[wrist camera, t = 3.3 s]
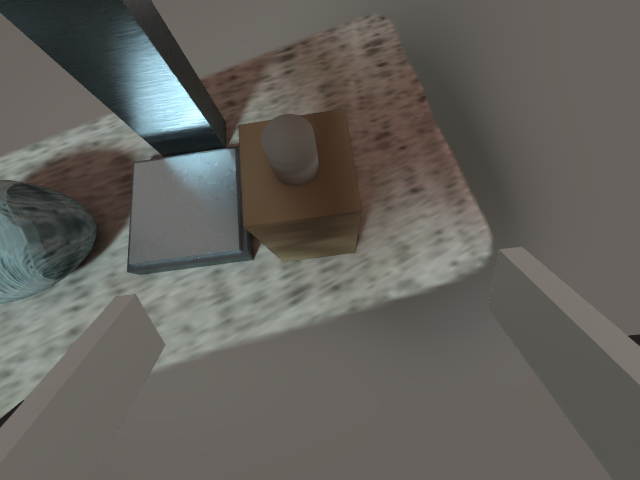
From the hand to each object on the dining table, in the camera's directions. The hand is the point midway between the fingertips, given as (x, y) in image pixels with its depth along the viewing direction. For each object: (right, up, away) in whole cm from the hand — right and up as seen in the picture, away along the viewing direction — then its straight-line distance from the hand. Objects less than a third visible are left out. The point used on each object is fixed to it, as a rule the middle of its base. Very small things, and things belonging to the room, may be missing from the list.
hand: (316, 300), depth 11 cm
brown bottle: (0, +4, +14) cm, 15 cm away
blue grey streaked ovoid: (-25, +1, +16) cm, 30 cm away
